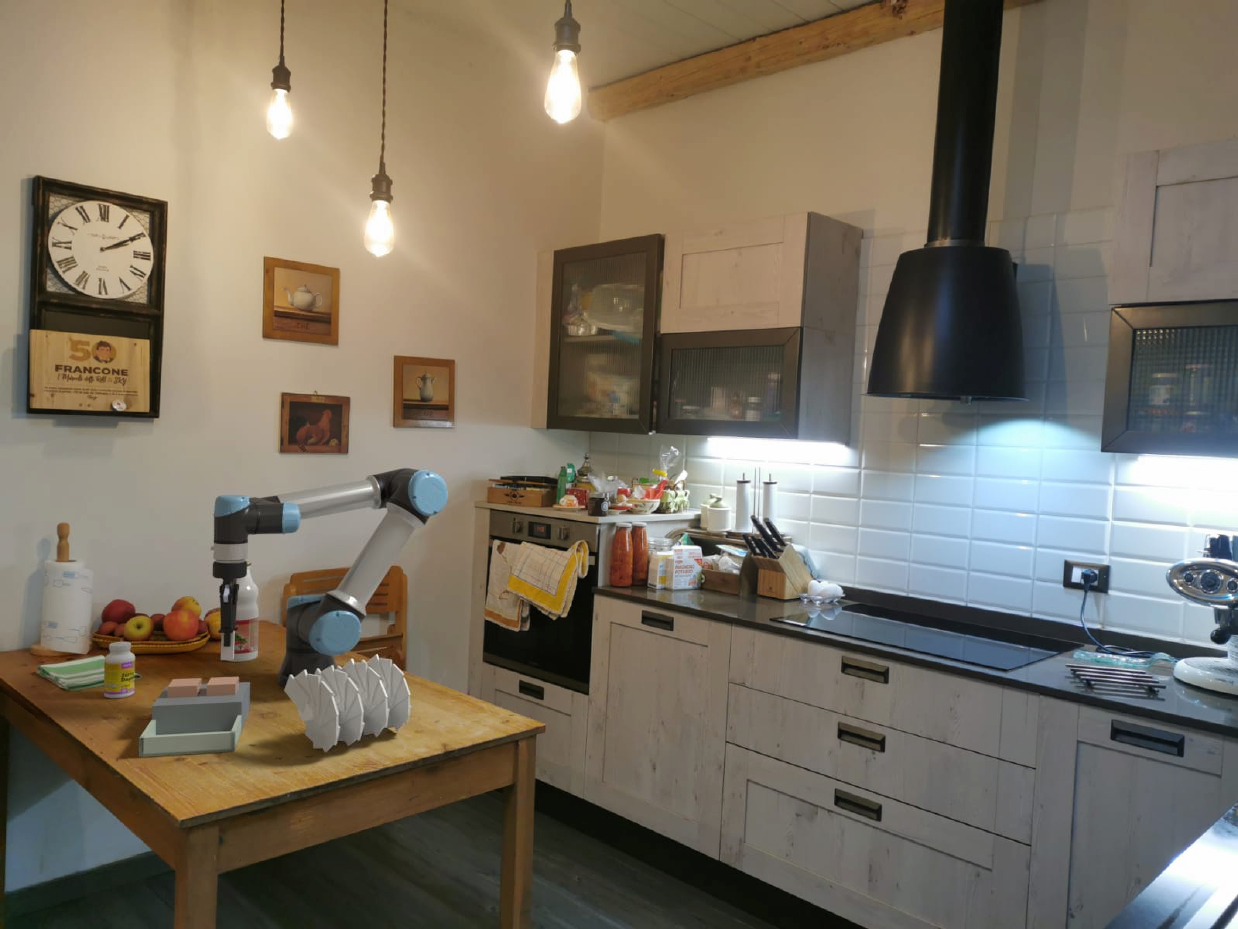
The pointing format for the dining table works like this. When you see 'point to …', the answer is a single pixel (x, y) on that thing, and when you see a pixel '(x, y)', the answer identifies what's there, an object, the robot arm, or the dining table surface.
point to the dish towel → (76, 673)
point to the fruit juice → (246, 619)
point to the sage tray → (188, 741)
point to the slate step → (200, 711)
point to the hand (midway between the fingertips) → (227, 659)
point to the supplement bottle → (119, 671)
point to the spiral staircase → (350, 701)
